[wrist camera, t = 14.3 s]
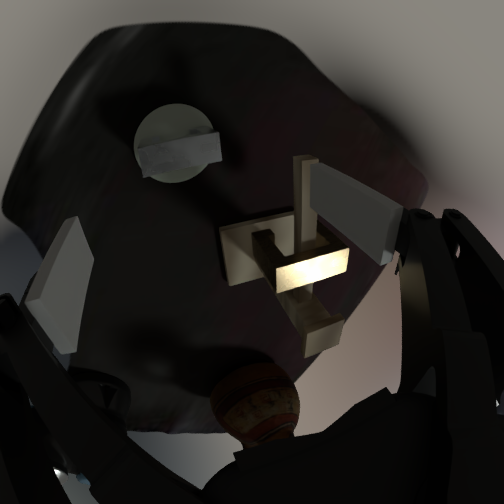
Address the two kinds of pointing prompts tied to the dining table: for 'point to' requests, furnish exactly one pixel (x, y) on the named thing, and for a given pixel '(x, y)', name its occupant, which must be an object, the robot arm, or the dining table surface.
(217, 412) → the ceramic pitcher
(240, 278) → the peg stand
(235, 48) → the dining table surface
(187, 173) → the felt pad
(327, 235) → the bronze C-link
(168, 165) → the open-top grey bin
